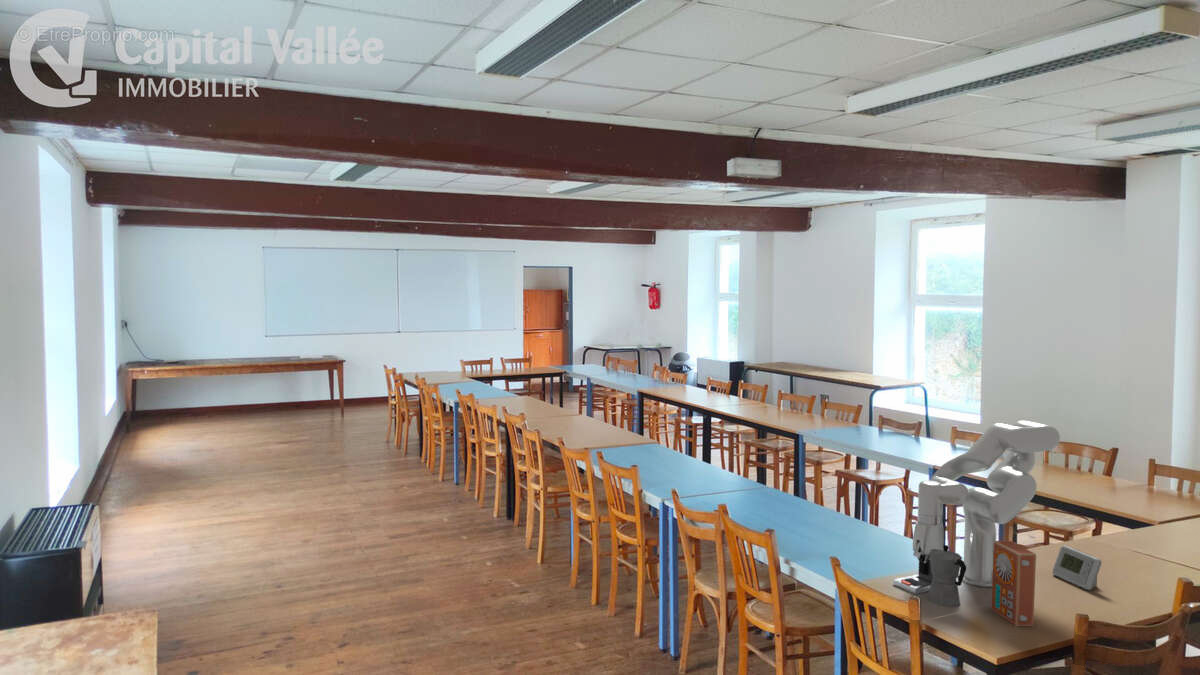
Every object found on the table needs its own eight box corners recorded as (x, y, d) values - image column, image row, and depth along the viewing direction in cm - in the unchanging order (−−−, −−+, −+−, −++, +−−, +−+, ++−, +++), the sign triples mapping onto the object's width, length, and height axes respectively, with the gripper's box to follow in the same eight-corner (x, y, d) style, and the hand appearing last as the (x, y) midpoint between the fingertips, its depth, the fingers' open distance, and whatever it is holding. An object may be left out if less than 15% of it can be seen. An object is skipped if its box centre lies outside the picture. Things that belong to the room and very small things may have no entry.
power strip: (926, 578, 261) (927, 570, 261) (949, 587, 253) (949, 579, 253) (893, 585, 254) (893, 578, 253) (915, 594, 246) (915, 587, 245)
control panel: (1016, 628, 221) (986, 607, 236) (1039, 627, 222) (1007, 607, 236) (1019, 555, 220) (988, 539, 235) (1042, 555, 221) (1010, 539, 235)
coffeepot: (917, 594, 246) (919, 539, 245) (942, 592, 248) (944, 538, 247) (950, 614, 231) (952, 555, 230) (976, 611, 233) (978, 553, 232)
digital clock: (1049, 574, 267) (1050, 544, 266) (1075, 574, 267) (1076, 544, 266) (1078, 591, 250) (1079, 559, 250) (1105, 592, 250) (1107, 560, 250)
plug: (925, 576, 257) (926, 551, 257) (937, 581, 253) (938, 556, 253) (918, 578, 256) (918, 553, 255) (930, 583, 252) (931, 557, 251)
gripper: (937, 512, 261) (935, 565, 261) (903, 518, 253) (901, 573, 254) (956, 518, 254) (954, 572, 255) (921, 524, 246) (920, 580, 247)
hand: (928, 572), depth 254 cm, fingers closed on plug, 3 cm apart
